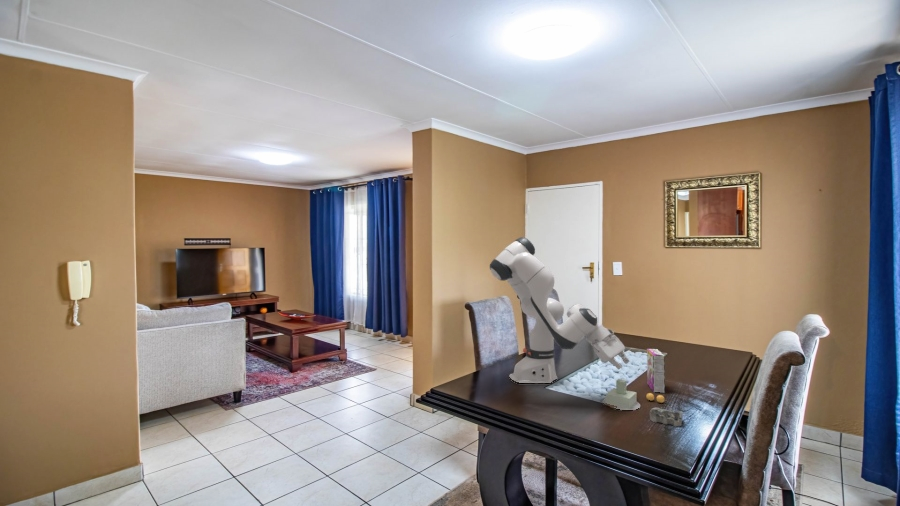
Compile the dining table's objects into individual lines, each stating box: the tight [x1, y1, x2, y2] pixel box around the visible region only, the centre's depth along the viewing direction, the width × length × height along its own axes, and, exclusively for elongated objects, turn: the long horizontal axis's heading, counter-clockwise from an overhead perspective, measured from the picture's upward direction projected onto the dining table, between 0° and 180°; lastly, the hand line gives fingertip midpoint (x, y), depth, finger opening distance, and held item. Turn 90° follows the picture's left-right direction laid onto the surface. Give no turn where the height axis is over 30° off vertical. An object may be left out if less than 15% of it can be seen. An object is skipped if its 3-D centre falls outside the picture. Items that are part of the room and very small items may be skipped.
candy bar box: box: [646, 348, 666, 394], centre depth 191 cm, size 11×5×16 cm, turn 168°
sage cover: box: [605, 378, 638, 409], centre depth 173 cm, size 9×9×9 cm
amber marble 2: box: [656, 394, 666, 404], centre depth 174 cm, size 3×3×3 cm
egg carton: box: [649, 406, 684, 427], centre depth 156 cm, size 11×8×4 cm
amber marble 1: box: [646, 392, 655, 402], centre depth 177 cm, size 3×3×3 cm
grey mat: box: [602, 397, 641, 411], centre depth 173 cm, size 14×14×1 cm
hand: (624, 365), depth 173 cm, fingers open, 8 cm apart
